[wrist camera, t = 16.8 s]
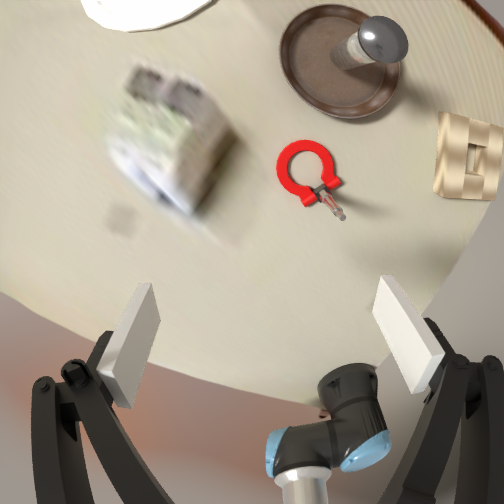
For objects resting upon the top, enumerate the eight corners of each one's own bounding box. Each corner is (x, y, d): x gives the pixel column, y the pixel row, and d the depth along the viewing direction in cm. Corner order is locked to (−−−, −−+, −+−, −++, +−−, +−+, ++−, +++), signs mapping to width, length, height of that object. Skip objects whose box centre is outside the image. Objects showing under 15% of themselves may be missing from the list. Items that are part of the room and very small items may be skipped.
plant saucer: (270, 7, 31) (272, 1, 28) (384, 15, 30) (393, 11, 27) (283, 119, 39) (285, 120, 36) (394, 118, 38) (404, 120, 36)
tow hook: (264, 160, 42) (299, 209, 45) (268, 177, 30) (315, 243, 33) (311, 128, 40) (344, 179, 43) (334, 133, 28) (376, 203, 31)
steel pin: (362, 75, 33) (410, 67, 21) (326, 72, 33) (363, 58, 21) (360, 41, 30) (405, 21, 19) (324, 37, 30) (358, 11, 19)
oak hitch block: (484, 194, 43) (494, 200, 40) (432, 190, 43) (443, 197, 40) (491, 124, 37) (503, 127, 33) (439, 111, 37) (451, 113, 34)
